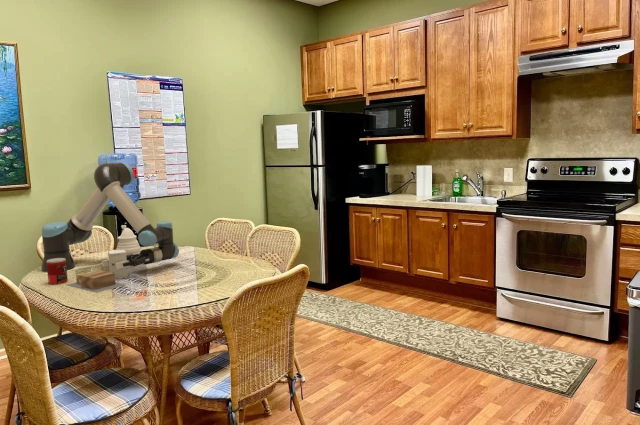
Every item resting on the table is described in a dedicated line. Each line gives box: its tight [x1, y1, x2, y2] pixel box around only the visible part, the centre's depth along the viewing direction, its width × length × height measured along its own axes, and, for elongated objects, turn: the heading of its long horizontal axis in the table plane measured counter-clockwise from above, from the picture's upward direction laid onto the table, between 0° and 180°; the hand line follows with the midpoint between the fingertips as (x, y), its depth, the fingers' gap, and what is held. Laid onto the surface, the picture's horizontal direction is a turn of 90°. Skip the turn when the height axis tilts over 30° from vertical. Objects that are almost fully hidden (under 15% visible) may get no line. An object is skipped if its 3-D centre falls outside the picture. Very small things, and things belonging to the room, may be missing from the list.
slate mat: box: [66, 281, 127, 294], centre depth 217 cm, size 24×14×1 cm, turn 56°
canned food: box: [46, 258, 69, 285], centre depth 222 cm, size 8×8×11 cm
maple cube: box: [75, 272, 89, 284], centre depth 220 cm, size 4×4×4 cm
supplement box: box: [107, 249, 129, 280], centre depth 229 cm, size 7×7×13 cm
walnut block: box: [80, 270, 116, 290], centre depth 215 cm, size 10×10×5 cm
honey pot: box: [115, 224, 142, 255], centre depth 275 cm, size 13×13×18 cm
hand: (109, 265), depth 226 cm, fingers closed on supplement box, 9 cm apart
